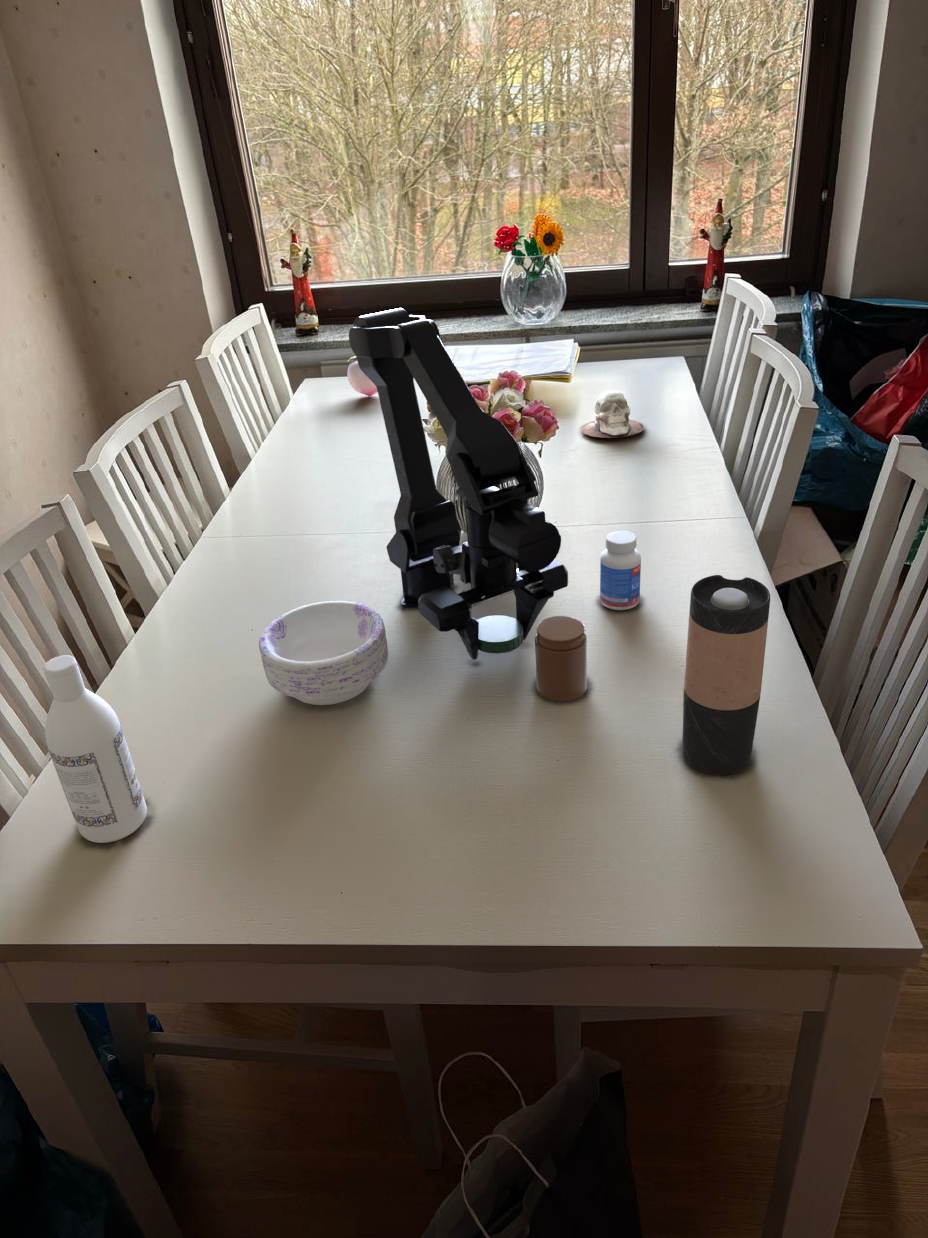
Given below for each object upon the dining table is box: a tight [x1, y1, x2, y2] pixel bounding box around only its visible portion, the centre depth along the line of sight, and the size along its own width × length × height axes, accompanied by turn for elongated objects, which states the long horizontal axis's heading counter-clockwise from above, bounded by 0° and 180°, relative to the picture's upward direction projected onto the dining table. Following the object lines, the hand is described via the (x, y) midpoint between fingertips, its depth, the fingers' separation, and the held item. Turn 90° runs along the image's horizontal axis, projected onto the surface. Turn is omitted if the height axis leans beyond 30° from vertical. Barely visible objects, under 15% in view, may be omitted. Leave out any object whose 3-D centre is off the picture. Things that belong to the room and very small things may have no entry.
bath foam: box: [43, 654, 148, 844], centre depth 95 cm, size 7×7×20 cm
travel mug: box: [682, 574, 771, 776], centre depth 97 cm, size 8×8×20 cm
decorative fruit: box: [346, 355, 378, 397], centre depth 213 cm, size 9×8×10 cm
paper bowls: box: [258, 600, 389, 706], centre depth 117 cm, size 15×15×8 cm
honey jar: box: [534, 615, 588, 703], centre depth 113 cm, size 6×6×8 cm
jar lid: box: [476, 614, 525, 654], centre depth 121 cm, size 7×7×2 cm
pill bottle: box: [599, 530, 642, 611], centre depth 129 cm, size 6×5×10 cm
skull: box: [581, 389, 645, 439], centre depth 186 cm, size 12×10×10 cm
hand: (497, 648), depth 122 cm, fingers open, 7 cm apart
